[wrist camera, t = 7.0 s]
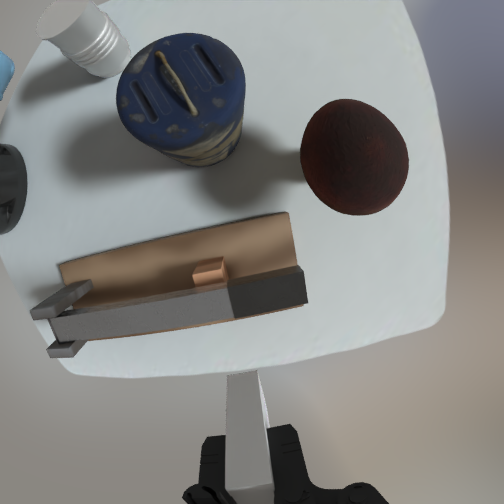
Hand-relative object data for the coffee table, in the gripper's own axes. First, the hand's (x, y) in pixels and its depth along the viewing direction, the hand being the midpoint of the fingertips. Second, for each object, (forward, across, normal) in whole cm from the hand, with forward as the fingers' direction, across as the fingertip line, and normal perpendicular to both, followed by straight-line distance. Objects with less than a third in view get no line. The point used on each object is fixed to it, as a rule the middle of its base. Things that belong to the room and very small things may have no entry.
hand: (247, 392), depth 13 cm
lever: (+15, -9, 0) cm, 17 cm away
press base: (+24, -9, 0) cm, 25 cm away
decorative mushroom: (+24, +13, +11) cm, 29 cm away
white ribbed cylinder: (+24, -12, +33) cm, 42 cm away
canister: (+24, -1, +18) cm, 30 cm away
